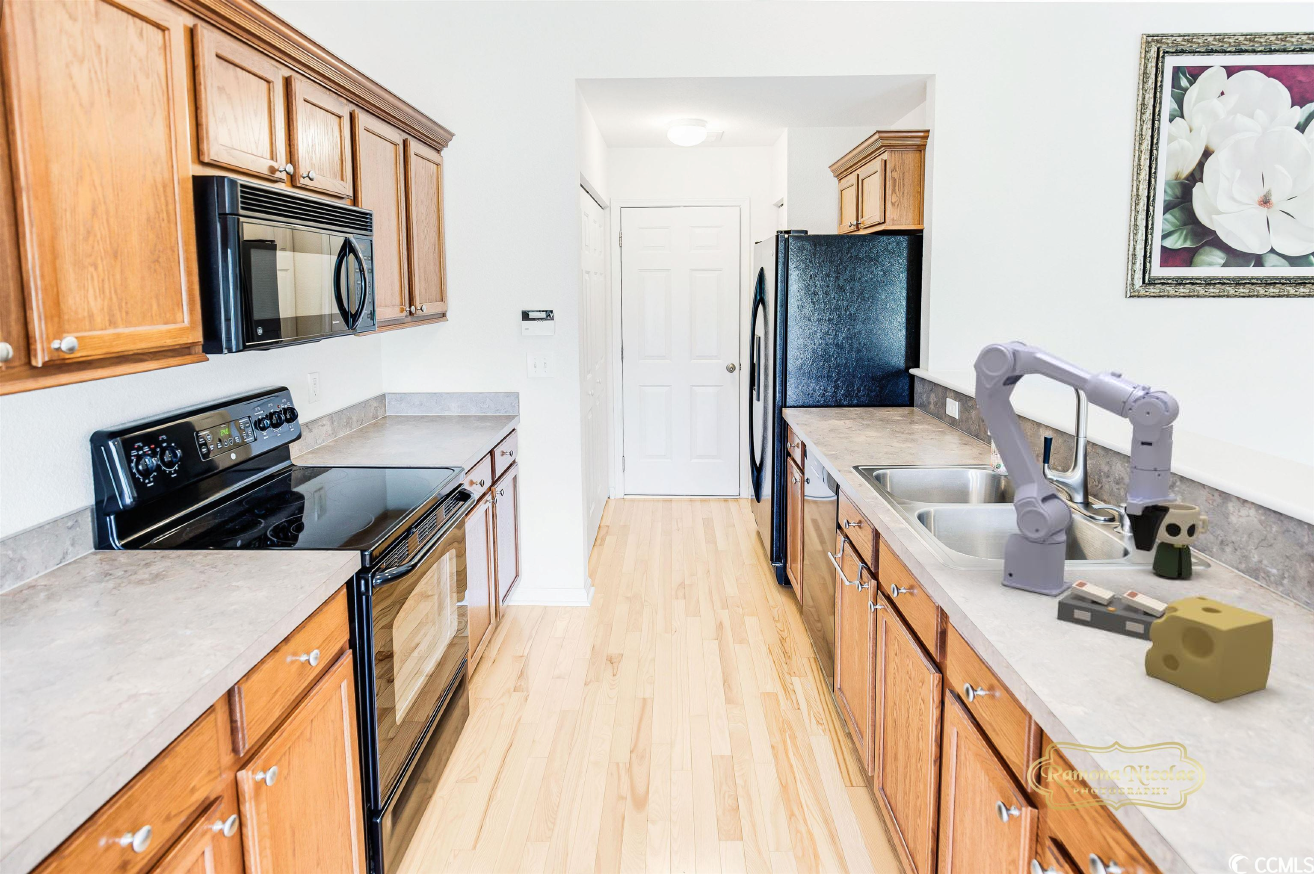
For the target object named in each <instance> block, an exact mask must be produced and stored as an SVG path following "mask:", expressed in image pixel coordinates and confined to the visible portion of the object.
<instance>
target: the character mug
mask: <svg viewBox="0 0 1314 874" xmlns="http://www.w3.org/2000/svg"><path fill="white" fill-rule="evenodd" d="M1158 505H1161V506H1167V507H1169V508H1170V510H1169V512H1168V514H1167V515H1166V516H1165V518H1164V520H1163V522H1162V524H1161V526H1160V528H1159V531H1158V534H1157V538H1156V540H1157V541H1160V542H1159V543H1158V544H1157V545H1156V549H1155V553H1154V557H1153V562H1152V567H1151V568H1152V570H1153V572H1155V573H1156V574H1158V575H1161V576H1165V577H1168V578H1178V576H1180V577H1182V578H1190V577H1191V576H1192V575H1193V563H1192V551H1191V547H1190V546H1189V545H1190V544H1194V543H1196V541H1197V539H1198V538H1199V535H1200V534H1201V535H1203V534H1205V535H1206V534H1207V533H1208V531H1209V517H1208V516H1206V515H1200V514H1201V508H1200V507H1199V506H1197V505H1194V504H1190V503H1185V502H1178V501H1176V502H1175V503H1168V502H1167V503H1162V504H1158ZM1200 522H1201V528H1200Z"/></svg>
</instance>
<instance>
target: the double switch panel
mask: <svg viewBox="0 0 1314 874" xmlns="http://www.w3.org/2000/svg"><path fill="white" fill-rule="evenodd" d="M1121 600H1122V597H1117V596H1114V599H1113V600H1112V601H1110V602H1109V603H1108V604H1106V605H1105V604H1103V603H1100V602H1097V601H1095V600H1092V599H1089V598H1087V597H1084V596H1081V595H1079V594H1076V593H1073V592H1071V591H1070V593H1068V594H1066V595H1065V596H1064V597H1062V598H1061V599H1059V600H1058V602H1057V620H1059V621H1064V622H1069V623H1072V624H1076V625H1077V624H1078V625H1080V626H1083V627H1084V626H1085V627H1090V628H1094V629H1098V630H1102V631H1106V632H1111V633H1115V634H1119V635H1124V636H1128V637H1132V638H1135V637H1136V639H1140V640H1144V641H1148V640H1149V641H1148V642H1152V640H1151V639H1150V628H1151V625H1152V623H1153V622H1154V621H1155V620H1159V619H1161V618H1162V617H1163V616H1164V615H1165V612H1166V611H1165V612H1164V613H1163V614H1162V615H1161V616H1160V617H1158V616H1156V615H1153V614H1151V613H1148V612H1146V611H1143V610H1141V609H1139V608H1136V607H1134V606H1131V605H1129V604H1126V603H1124V602H1122V601H1121Z"/></svg>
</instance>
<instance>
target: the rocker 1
mask: <svg viewBox="0 0 1314 874" xmlns="http://www.w3.org/2000/svg"><path fill="white" fill-rule="evenodd" d="M1069 591H1070V593H1071V592H1073V593H1076V594H1079V595H1081V596H1084V597H1087V598H1089V599H1092V600H1095V601H1097V602H1100V603H1103V604H1105V605H1106V604H1108V603H1109V602H1110V601H1112V600H1113V599H1114V597H1116V593H1115V592H1114V591H1111V590H1107V589H1105V588H1102V587H1100V586H1097V585H1094V584H1092V583H1089V582H1086V581H1084V580H1077V581H1076V582H1074V583H1072V586H1070V590H1069Z"/></svg>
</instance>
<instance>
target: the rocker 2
mask: <svg viewBox="0 0 1314 874" xmlns="http://www.w3.org/2000/svg"><path fill="white" fill-rule="evenodd" d="M1121 598H1122V600H1121V601H1122V602H1124V603H1126V604H1129V605H1131V606H1134V607H1136V608H1139V609H1141V610H1143V611H1146V612H1148V613H1151V614H1153V615H1156V616H1158V617H1160V616H1161V615H1162V614H1163V613H1164V612H1165V611H1166V609H1167V606H1168V604H1167V603H1164V602H1162V601H1160V600H1157V599H1154V598H1151V597H1149V596H1147V595H1145V594H1142V593H1139V592H1137V591H1134V590H1132V589H1130V590H1128V591H1127V592H1126V593H1124V594H1123V595H1122V597H1121Z"/></svg>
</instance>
